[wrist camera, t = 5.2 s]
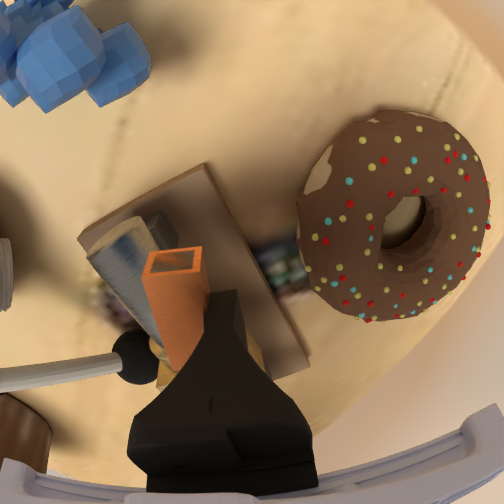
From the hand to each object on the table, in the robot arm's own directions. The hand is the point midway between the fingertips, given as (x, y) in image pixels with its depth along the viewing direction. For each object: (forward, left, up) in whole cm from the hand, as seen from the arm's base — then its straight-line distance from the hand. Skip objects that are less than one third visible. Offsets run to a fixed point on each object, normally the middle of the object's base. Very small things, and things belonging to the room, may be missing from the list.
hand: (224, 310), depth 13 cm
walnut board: (-5, +4, -8) cm, 10 cm away
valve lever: (-2, +2, 0) cm, 3 cm away
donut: (-4, -10, -8) cm, 14 cm away
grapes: (+14, +2, -8) cm, 16 cm away
